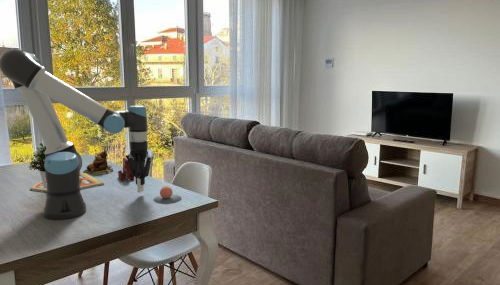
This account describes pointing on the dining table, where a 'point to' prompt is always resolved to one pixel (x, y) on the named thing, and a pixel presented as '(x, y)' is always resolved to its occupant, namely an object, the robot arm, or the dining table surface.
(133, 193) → the dining table surface
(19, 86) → the robot arm
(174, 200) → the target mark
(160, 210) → the dining table surface
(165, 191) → the ball
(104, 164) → the bear figurine
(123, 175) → the toy fire truck
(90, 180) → the knob puzzle
